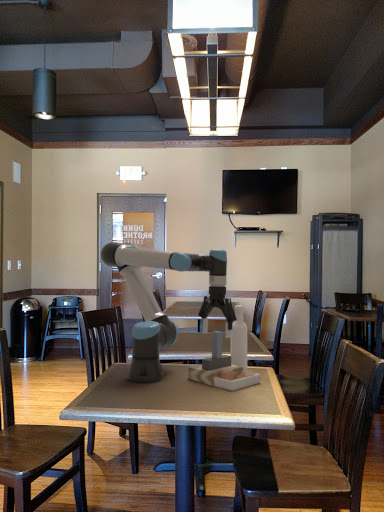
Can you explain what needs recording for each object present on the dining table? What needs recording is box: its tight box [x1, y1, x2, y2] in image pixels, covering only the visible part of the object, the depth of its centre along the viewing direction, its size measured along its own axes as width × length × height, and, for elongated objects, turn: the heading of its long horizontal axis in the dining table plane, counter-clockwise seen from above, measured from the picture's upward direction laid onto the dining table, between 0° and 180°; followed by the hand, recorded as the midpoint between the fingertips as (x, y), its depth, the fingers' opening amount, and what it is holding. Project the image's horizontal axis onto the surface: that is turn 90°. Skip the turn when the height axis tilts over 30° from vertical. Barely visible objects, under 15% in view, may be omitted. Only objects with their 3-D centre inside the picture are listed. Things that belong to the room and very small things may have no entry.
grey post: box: [201, 330, 231, 371], centre depth 178 cm, size 4×14×15 cm, turn 133°
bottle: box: [229, 304, 248, 371], centre depth 193 cm, size 8×8×30 cm
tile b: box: [236, 368, 255, 379], centre depth 171 cm, size 5×5×2 cm
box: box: [213, 370, 261, 392], centre depth 170 cm, size 9×18×4 cm, turn 133°
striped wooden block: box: [188, 363, 243, 387], centre depth 178 cm, size 15×18×5 cm
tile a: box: [221, 370, 234, 381], centre depth 169 cm, size 5×5×2 cm
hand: (216, 335), depth 179 cm, fingers open, 13 cm apart
